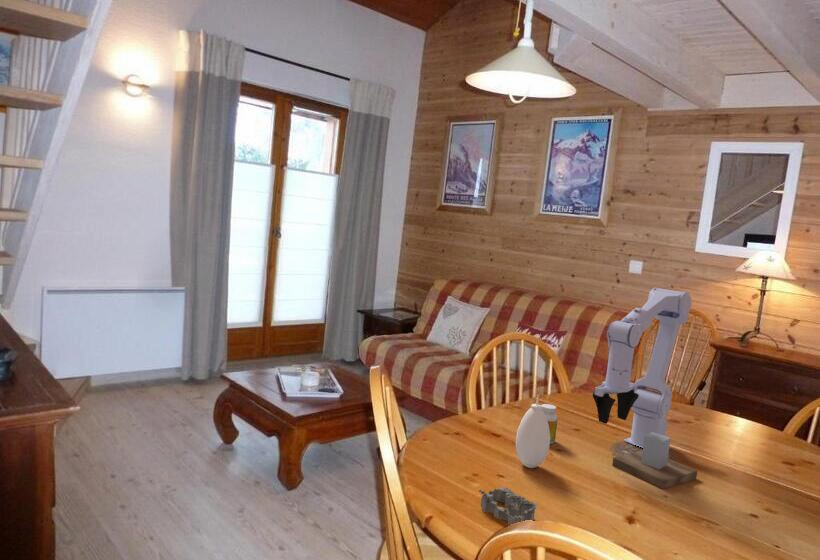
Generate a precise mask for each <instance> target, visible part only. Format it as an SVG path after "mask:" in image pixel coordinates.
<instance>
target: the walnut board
mask: <svg viewBox="0 0 820 560" xmlns="http://www.w3.org/2000/svg"><path fill="white" fill-rule="evenodd" d="M642 451H643V450H638V451H635V452H631V453H627V454H623V455H620V456H615V457H613V458H612V467H615V468H617V469H619V470H621V471H623V472H625V473H628V474H629V475H632V476H634V477H636V478H638V479H640V480H642V481H644V482H647V483H648V484H651V485H653V486H655V487H657V488H660V489H662V490H665V489H668V488H671V487H675V486H677V485H678V486H679V485H681V484H684V483H688V482H690V481H693V480H696V479H697V476H698V475H697V474H698V470H696V469H694V468H691V467H689V466H686V465H684V464H681V463H679V462H677V461H675V460H672V459H670V458H668V460H667V465H666V466H664V467H663V468H661V469H657V468H654V467H651V466H648V465H646V464H643V463H641V458H642Z"/></svg>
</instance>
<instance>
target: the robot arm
mask: <svg viewBox="0 0 820 560" xmlns="http://www.w3.org/2000/svg"><path fill="white" fill-rule="evenodd" d="M691 297H692V296H691V295H690V293H689V291H680V290H679V291H678V290H671V289H666V288H665V289H664V288H660V287H656V286H655V287H653V288H652V289H651V290H650V291H649V292H648V297H647V301H646V302H645V303H644V305H642V307H635V308H634V309H632V310H631V311H630V312H629V313H627V315H626V316H624V317H623V318H622V319H621V320H615V321H612V322H611V323H610V324H609V325H608V328H607V331H606V337H607V349H608V351H609V352H608V360H607V369H606V375H605V380H604V381H602V382H601V385H599V386H595V388H594V392H592V398H593V400H594V402H595V405H596V409H597V415H598V422H599V423H602V424H604V425H607V424H608V423H609V420H610V414H611V410H612V407H613V405H614V404H615V402H616V401H617V412H616V413H617V419H621V420H623V421H626V420H627V418H628V415H629V414H630V411H632V412H633V419H632V424H631V425H632V426H631V434H630V437H627V438H624V439H623V441H624V442H626V443H628V444H630V445H633V446H635V445H636V446H635V447H637V446H639V447H638V448H640V447H642V448H643V443H644V436H645V435H647V434H649V433H651V432H654V433H657V434H660V435H663V436H666V437H667V430H668V420H667V417H666V416H667V415H668V414H669V412H670V410H671V408H672V407H671V406H672V396H673V391H672V389H671V388H670V387H669V386H668V385H667V383H666V382H665V379H666V377H667V373H668V369H669V365H670V363H671V360H672V355H673V351H674V348H675V344H676V341H677V338H678V334H679V330H680V327H681V325H684V324H686V323H687V321H688V318H689V314H690V311H691V306H692V298H691ZM654 318H655V319H656V320H658V321H659V328H658V332H657V336H656V338H655V342H654V346H653V349H652V353H651V356H650V359H649V360H650V361H649V363H648V366H647V367H648V368H647V370H646V374H645V376H644V377H642V378H639V379H637V380H636V381H635V382H632V381H631V375H632V374H631V373H632V369H633V368H632V367H633V360H634V359H633V358H634V351H635V347H637V346H638V345H639V342H640V339H641V338H642V336H643V333H644V332H645V331H646V330H647V329H648V328H649V327H650V326H651V325H652V322H653V319H654ZM614 394H616V398H617V400H616V399H615V398H613V397H611V395H614ZM642 448H641V449H642Z"/></svg>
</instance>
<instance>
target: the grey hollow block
mask: <svg viewBox="0 0 820 560" xmlns="http://www.w3.org/2000/svg"><path fill="white" fill-rule="evenodd" d="M478 492H479V493H481V502H480V507H481V511H482V512H483V513H484V512H485V513H491V512H492V514H493V515H494V516H493V517H494V518H495V519H497V518H498V519H497V520H505V521H506V522H507V526H509V525H511V524H514V523H517V522H521V521H525V520H534V519H535V513H536V511H535V510H536V509H537V507H538V506H539V503H536V502H533V501H531V502H530V501H529V499H526V498H525V496H521V495H520V494H517V493H515V492H513V491H512V490H511V489H510V488H508V487H500V488H494V490H489V491H488V493H486V491H485V490H482V489H479V491H478ZM500 502H502V503H504V507H505V508H504V507H501V506H498V503H500ZM520 515H521V516H520ZM534 521H535V520H534Z"/></svg>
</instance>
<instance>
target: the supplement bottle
mask: <svg viewBox="0 0 820 560" xmlns="http://www.w3.org/2000/svg"><path fill="white" fill-rule="evenodd" d="M540 405H541V406H542V410H543V412H544V414H545V416H546V418H547V421H548V425H549V430H550V445H553V444H555V442H556V436H557V428H558V418H559V417H558V415H557V414H556V413H557V406H555V405H553V404H549V403H548V404H547V403H543V404H540Z"/></svg>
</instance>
